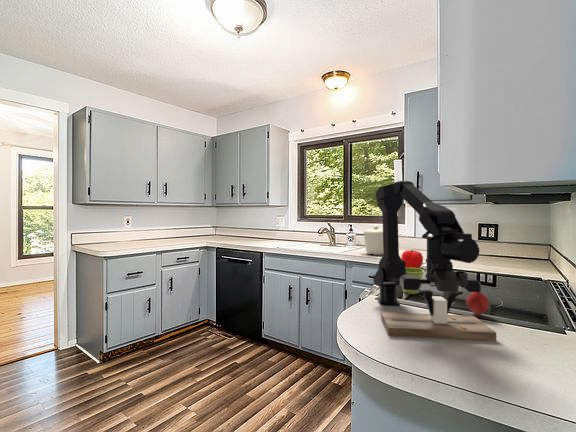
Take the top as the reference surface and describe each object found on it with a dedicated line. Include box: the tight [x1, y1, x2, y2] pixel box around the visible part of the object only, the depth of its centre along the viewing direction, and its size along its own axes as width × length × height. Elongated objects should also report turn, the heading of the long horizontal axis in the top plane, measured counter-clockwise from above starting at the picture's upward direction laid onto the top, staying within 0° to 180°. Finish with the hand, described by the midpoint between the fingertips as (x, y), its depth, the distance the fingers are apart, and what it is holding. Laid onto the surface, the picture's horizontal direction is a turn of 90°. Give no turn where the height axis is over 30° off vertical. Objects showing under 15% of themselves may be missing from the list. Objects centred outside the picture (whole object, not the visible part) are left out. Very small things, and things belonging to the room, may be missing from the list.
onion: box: [465, 291, 490, 316], centre depth 92 cm, size 6×6×8 cm
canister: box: [362, 224, 383, 256], centre depth 222 cm, size 18×18×21 cm
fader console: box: [380, 311, 497, 342], centre depth 82 cm, size 12×25×2 cm, turn 82°
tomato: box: [400, 249, 424, 269], centre depth 168 cm, size 11×13×10 cm
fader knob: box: [430, 295, 448, 324], centre depth 81 cm, size 4×3×6 cm
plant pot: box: [401, 267, 425, 295], centre depth 119 cm, size 9×9×9 cm
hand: (438, 315), depth 81 cm, fingers closed on fader knob, 3 cm apart
